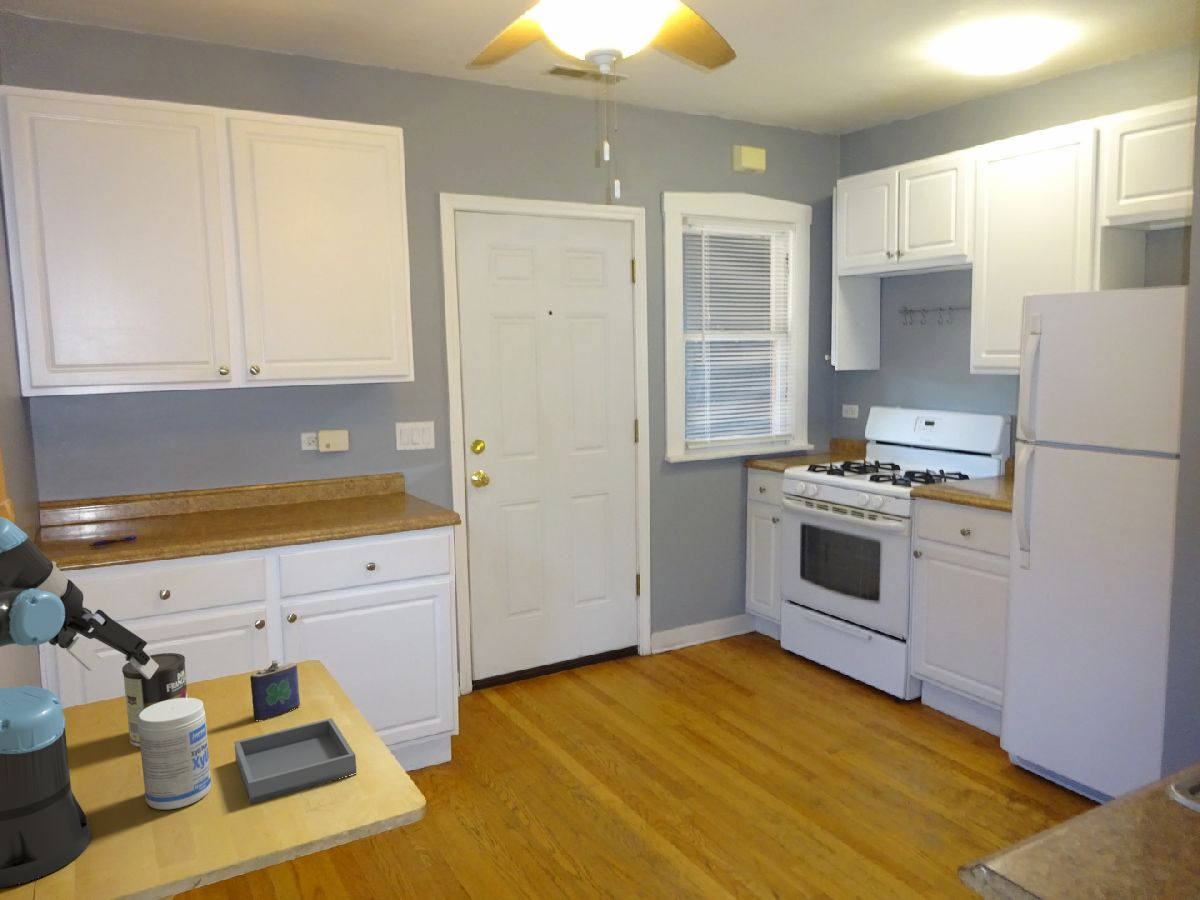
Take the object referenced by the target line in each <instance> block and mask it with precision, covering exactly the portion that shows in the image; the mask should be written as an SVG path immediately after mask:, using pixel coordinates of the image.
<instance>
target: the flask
mask: <svg viewBox="0 0 1200 900" xmlns="http://www.w3.org/2000/svg"><path fill="white" fill-rule="evenodd" d="M279 664H280V662H279V661H278V660H277V659H275V660H272V661H271V665H270V666H269V667H268V668H264V669H263V670H262V671H261V669H259V670H257V672H254V673H252V674H251V675H250V677H249V678H250V679H249V680H250V689H251V697H252V698H251V699H252V702H251V703H252V711H253V713H252V714H253V720H254V719H255V720H258V721H257V722H260V721H259V720H263V721H266V720H265V719H267V720H269V719H268V718H270V719H272V718H271V717H273V718H276V717H275V716H277V717H278V715H279V716H281V715H284V714H283V713H285V712H287V713H289V712H288V711H290V710H292V709H294V708H297V707H298V706H299V705H300V706H301V700H300V699H301V698H300V689H299V677H298V664H297V663H295V662H289V663H286V664H283V665H279ZM297 709H298V708H297ZM292 711H293V710H292ZM290 712H291V711H290ZM285 714H286V713H285ZM255 720H254V721H255Z"/></svg>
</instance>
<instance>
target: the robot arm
mask: <svg viewBox="0 0 1200 900" xmlns="http://www.w3.org/2000/svg"><path fill="white" fill-rule="evenodd" d="M83 602H84V593H83V592H82V590H81V589H80V588H79V587H78V586H77V585H76V584H74V582H73V581H72V580H71V579H69V578H68V577H67V576H66V575H65V574H64V573H63V571H61V570H60V569H59V568H58V567H57V562H56V561H53V560H51V559H50V558H49V557H47V555H46V554H45V553H44V552H43V551H41V549H40V548H39V547H38V546H37V545H36V544H35V543H34V542H33V541H32V540H31V539H30V537H29V536H28V534H27V533H26V532H24V531H23V530H22V529H21V528H19V527H18V526H17V525H16V524H15V523H13V522H12V521H11V520H10V519H9V518H6V517H2V516H0V648H1V647H5V646H9V645H20V646H25V647H26V646H39V645H43V644H45V643H49V644H50V645H51V646H56V645H57V644H58V646H59V648H61V649H63V650H64V649H66V651H67V652H68V653H69V654H70V655H71V656H72V657H73V658H74V659H75V660H76V661H78V663H79V664H81V665H82V666H83V667H84V668H85V669H86V670H88V671H89V672H92V671H94V669H95V668H96V667H97V666H98V664H99V663H100V662H101V660H103V659H102V658H103V657H101V656H100V655H99V654H98V653H97V652H96V651H95V650H94V649H93V648H92V647H91V646H90V645H89V644H87V643H86V641H84V640H83V639H82V638H81V637H79V636H77V635H78V634H79V635H81V636H83V637H84V638H87V639H89V640H92V639H95V640H97V641H98V642H101V643H103V644H104V645H106V646H108V647H110V648H112V649H114V650H115V651H117V652H120V653H122V654H123V655H125V656H124V659H125V661H128V663H129V662H130V663H131V664H132V665H133V666H134V667H135V668H136V669H137V670H138V671H139V672H140V673H141V674H142V675H143V676H144V677H145V678H146V679H150V678H151V677H152V675H153V674H154V673H155V671H156V670H157V668H158V667H159V665H158V664H157V663H156V662H155V661H154V660H153V659H152V658H151V657H150V655H149V653H147V652H146V651H145V650H144V649H145V648H146V646H147V644H148V643H147V641H146V640H144V639H143V638H141V637H140V636H138V635H137V634H135V633H134V632H132V631H131V630H129V629H127V628H126V627H124V626H123V625H121V624H120V623H119V622H117V621H115V620H114V619H112V618H111V617H110V616H109V615H108V614H107V613H105V612H104V611H103V610H101V609H97V610H96V611H95V612H94V613H92V610H90V609H88V608H86V607H84V605H83ZM91 629H92V630H91ZM90 630H91V631H90ZM68 756H69V755H68V744H67V735H66V716H65V714H64V711H63V706H62V703H61V700H60V698H59V697H58V695H56V693H54V692H53V691H51V690H49V689H47V688H44V687H39V686H34V685H33V686H31V685H23V686H20V687H15V686H9V687H8V686H7V687H1V688H0V889H1V888H7V887H8V888H9V887H13V885H14V886H17V885H16V884H18V885H20V884H19V883H22V884H25V883H24V882H26V883H28V882H31V880H32V881H35V880H37V879H36V878H38V877H40V878H42V877H41V876H43V877H45V876H47V875H46V874H48V875H50V874H52V873H54V872H56V871H58V870H60V869H62V868H63V867H65V866H67V865H69V864H70V863H71V862H73V861H74V860H75V859H77V858H78V857H80V856H81V854H82V853H83V852H84V851H86V849H87V848H88V847H89V845H90V842H91V839H92V833H91V826H90V825H91V824H90V821H89V819H88V816H86V813H85V812H84V810H83V809H82V806H81V805H80V803H79V801H78V799H77V797H76V796H75V794H74V793H73V791H72V783H71V773H70V766H69V757H68ZM49 873H50V874H49ZM34 879H35V880H34ZM38 879H39V878H38Z"/></svg>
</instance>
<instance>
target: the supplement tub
mask: <svg viewBox="0 0 1200 900" xmlns="http://www.w3.org/2000/svg"><path fill="white" fill-rule="evenodd" d="M138 726H139V738H140V747H139V748H140V755H141V763H142V764H141V765H142V775H143V785H144V794H145V796H144V797H145V801H146V803H147V804H148V806H150V807H151V808H153V809H156V810H164V811H166V810H174V809H179V808H183V807H187V806H189V805H192V804H194V803H196V802H198V801H199V800H201V799H202V798H204V797H205V796H206V795H208V793H209V792H210V790H211V788H212V776H211V766H210V755H209V743H208V732H207V730H208V729H207V719H206V712H205V708H204V703H203V701H202V700H201V699H198V698H195V697H188V698H176V699H171V700H166V701H162V702H159V703H156V704H153V705H151V706H149V707H147V708H146V709H144V710H143V711H142V712H141V713H140V714H139V724H138Z"/></svg>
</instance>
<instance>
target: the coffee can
mask: <svg viewBox="0 0 1200 900" xmlns="http://www.w3.org/2000/svg"><path fill="white" fill-rule="evenodd" d="M149 656H150V657H151V658H152V659H153V660H154V661H155V662H156V663H157V664H158V665H159V667H158V668H157V670H156V671H155V673H154V674H153V675H152V677H151V678H150V679H146V678H145V677H144V676H143V675H142V674H141V673H140V672H139V671H138V670H137V669H136V668H135V667H134V666H133V665H132V664H131V663H130V662H129V661H128V662H127V663H126V664H124V665H123V666H122V669H121V671H122V675H123V682H124V684H123V685H124V692H125V693H124V694H125V702H126V713H127V722H128V731H129V733H128V734H129V743H130V745H132V746H134V747H137V748H140V738H139V726H138V724H139V714H140V713H141V712H142V711H143V710H144V709H146V708H147V707H149V706H151V705H153V704H156V703H159V702H162V701H166V700H171V699H176V698H189V697H188V687H187V686H188V685H187V674H186V657H185V655H184V654H180V653H175V652H168V653H167V652H166V653H165V652H164V653H163V652H162V653H156V654H150V655H149Z"/></svg>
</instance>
